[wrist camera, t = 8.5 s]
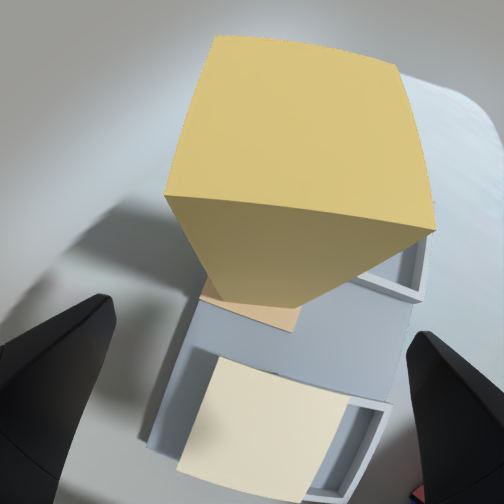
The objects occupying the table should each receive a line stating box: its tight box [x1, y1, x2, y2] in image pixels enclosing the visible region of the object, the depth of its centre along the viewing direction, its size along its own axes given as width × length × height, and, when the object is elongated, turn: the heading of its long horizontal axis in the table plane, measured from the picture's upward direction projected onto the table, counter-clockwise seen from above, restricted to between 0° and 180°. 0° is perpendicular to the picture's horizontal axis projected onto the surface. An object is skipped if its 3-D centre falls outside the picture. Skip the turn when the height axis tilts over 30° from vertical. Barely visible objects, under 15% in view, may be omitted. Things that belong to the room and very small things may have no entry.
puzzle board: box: [146, 201, 435, 504], centre depth 16 cm, size 22×13×2 cm, turn 160°
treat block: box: [164, 35, 436, 309], centre depth 11 cm, size 4×4×13 cm
